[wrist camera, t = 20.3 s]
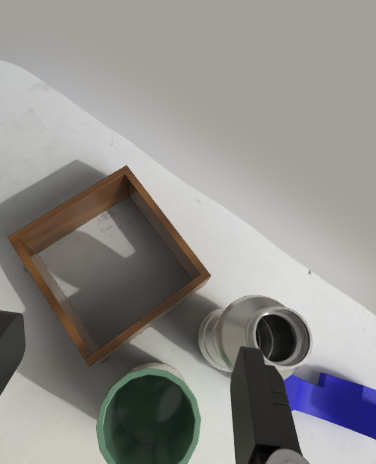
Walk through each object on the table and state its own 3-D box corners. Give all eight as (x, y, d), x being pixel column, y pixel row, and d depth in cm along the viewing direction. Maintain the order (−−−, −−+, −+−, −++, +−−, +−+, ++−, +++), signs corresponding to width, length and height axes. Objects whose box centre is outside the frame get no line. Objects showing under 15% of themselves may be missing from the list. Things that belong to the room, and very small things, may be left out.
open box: (28, 251, 41) (6, 237, 35) (131, 187, 45) (126, 164, 39) (100, 363, 38) (89, 367, 32) (204, 285, 41) (211, 276, 36)
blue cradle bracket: (371, 390, 39) (407, 398, 33) (365, 433, 38) (401, 449, 32) (270, 355, 39) (288, 357, 34) (260, 396, 38) (277, 405, 32)
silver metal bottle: (219, 298, 41) (269, 260, 22) (264, 337, 40) (357, 332, 21) (183, 341, 39) (204, 341, 20) (230, 383, 38) (298, 423, 19)
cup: (98, 395, 37) (76, 413, 27) (161, 346, 39) (161, 348, 29) (142, 465, 35) (135, 510, 26) (205, 410, 37) (220, 434, 28)
